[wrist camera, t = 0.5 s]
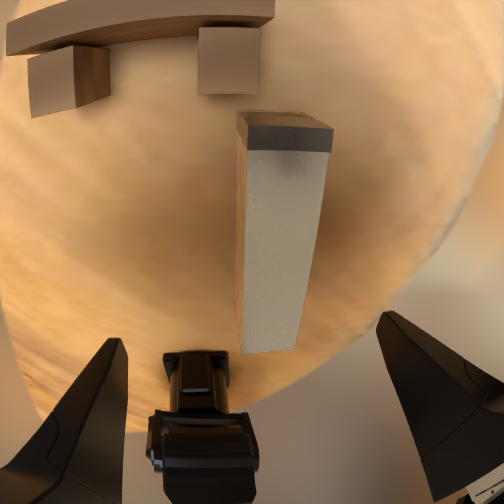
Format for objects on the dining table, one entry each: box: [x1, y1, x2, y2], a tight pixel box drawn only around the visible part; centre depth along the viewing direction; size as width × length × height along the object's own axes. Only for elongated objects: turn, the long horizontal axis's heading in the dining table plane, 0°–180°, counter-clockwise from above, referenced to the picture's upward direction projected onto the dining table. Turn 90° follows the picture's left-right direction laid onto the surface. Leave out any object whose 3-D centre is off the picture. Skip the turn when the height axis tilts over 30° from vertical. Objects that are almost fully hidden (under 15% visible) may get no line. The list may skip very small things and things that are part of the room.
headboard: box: [6, 0, 275, 119], centre depth 11 cm, size 5×11×7 cm, turn 88°
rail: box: [235, 110, 334, 354], centre depth 20 cm, size 16×4×5 cm, turn 178°
